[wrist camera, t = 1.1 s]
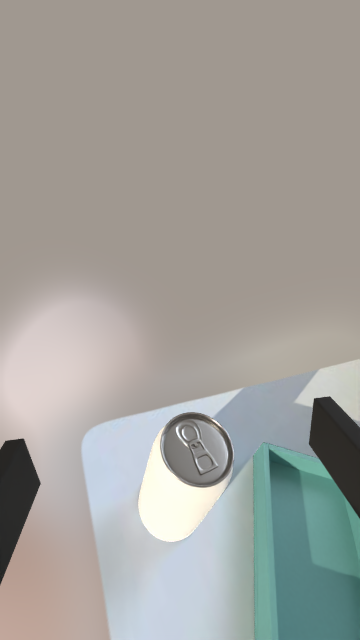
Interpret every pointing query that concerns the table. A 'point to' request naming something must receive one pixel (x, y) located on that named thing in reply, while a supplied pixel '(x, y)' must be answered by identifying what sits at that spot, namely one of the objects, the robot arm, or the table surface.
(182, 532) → the can
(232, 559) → the table surface
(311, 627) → the shelf bin
